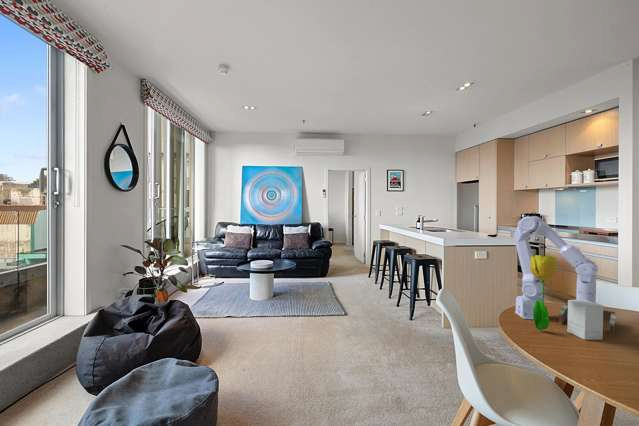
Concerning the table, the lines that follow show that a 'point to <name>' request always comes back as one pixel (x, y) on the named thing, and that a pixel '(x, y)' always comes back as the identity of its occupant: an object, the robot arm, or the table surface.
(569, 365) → the table surface
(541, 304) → the flower
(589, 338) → the supplement box
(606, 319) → the cold frame
